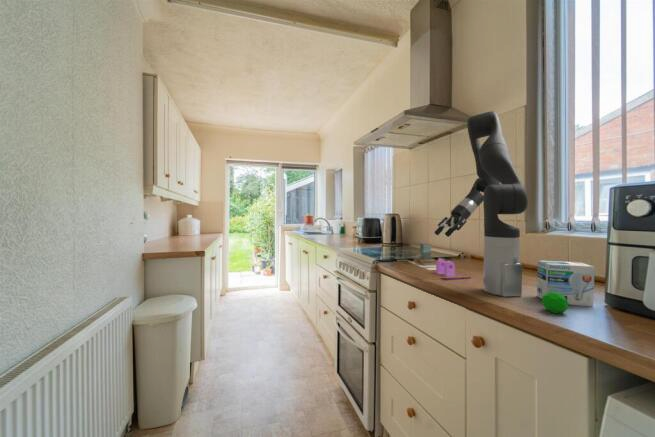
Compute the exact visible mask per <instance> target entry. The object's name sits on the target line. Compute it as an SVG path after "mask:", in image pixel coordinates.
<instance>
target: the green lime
mask: <svg viewBox="0 0 655 437" xmlns="http://www.w3.org/2000/svg"><path fill="white" fill-rule="evenodd" d="M541 303H542V305H543V307H544V308H545V310H546V311H549V312H551V313H552V312H553V314H562V313H565V312H566V311H567V310H568V308H569V304H568V302H567V300H566V298H565V297H564V296H563V295H561V294H560V293H556V292H549V293H546V294H545V295H544V296H543V298H542V299H541Z"/></svg>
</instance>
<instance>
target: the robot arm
mask: <svg viewBox="0 0 655 437" xmlns="http://www.w3.org/2000/svg"><path fill="white" fill-rule="evenodd" d="M466 126H467V133H468V138H469V143H470V146H471V150H472V152H473V153H472V154H473V157H474V161H475V169H476V175H477V177H478V178H476V179H475V181H474V183H473V184H472V187H471V189H470V190H469V193H467V194H466V196H465V197H464V198H463V199H461V201H459V203H457V204H456V206H454V208H453V209H452V210H451V211H450V216H449V217H448V216H445V217H443V219H441V221H440V222H438V224H437V226H438V228H436V229H435V231H434V234H435V236H439V235H440V234H441V233H442V232H443V230H446V229H447V230H446V232H444V235H445V236H446V238H447V237H448V238H449V237H450V236H451V235H452V234H454V232H456V231H460V230H461V229H462V228H463V227H464V225H465V224H466V223H467V222H468V221H467V220H468V219H469V218H470V217H471V216H472V214H474V213H475V211H476V210H477V209H478V207H480V205H481V204H482V203H483V222H484V223H483V227H484V228H483V230H484V232H483V234H484V235H483V237H484V238H483V278H482V279H483V282H482V283H483V291H484V293H488V294H492V295H495V296H496V295H497V296H501V297H506V298H507V297H520V296H522V294H523V293H522V292H523V291H522V290H523V289H522V288H523V263H520V246H521V245H520V242H521V240H520V238H521V237H520V236H521V229H520V228H519V227H518V226H514V225H511V224H507V222H503V221H502V220H500V218H499V215H519V214H520V215H521V214H523V213H524V212H525V211H526V210H527V208H528V202H529V201H528V193H527V190H526V188H525V186H524V184H523V182H522V180H521V178H520V177H519V175H518V174H519V173H517V171H516V168H515V166H514V162H513V159H512V155H511V153H510V150H509V147H508V144H507V143H506V140H505V137H504V135H503V130H502V126H501V121H500V118H499V115H498V113H497V112H495V111H493V110H491V111H486V112H483V113H480V114H476V115H472V116H470V117H468V119H467V125H466ZM485 137H487V138H486V140H485V141H484V142H483V143H482V144H481V143H480V140H479V139H481V138H485Z"/></svg>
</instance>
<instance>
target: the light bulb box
mask: <svg viewBox="0 0 655 437" xmlns="http://www.w3.org/2000/svg"><path fill="white" fill-rule="evenodd" d="M595 269H596V268H595V266H593V265H590V264H587V263H584V262H580V261H578V262H577V261H560V260H559V261H557V260H556V261H555V260H539V259H538V260H537V278H536V279H537V280H536V282H537V283H536V287H537V288H536V296H537V297H538V298H540V299H541V300H542V298H543V296H544V295H545V294H546V293H549V292H556V293H560V294H561V295H563V296H564V297H565V298H566V300H567V302H568V306H570V305H571V306H581V307H590V306H593V307H594V294H595V293H594V292H595V271H596V270H595Z"/></svg>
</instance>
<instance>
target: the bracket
mask: <svg viewBox="0 0 655 437" xmlns="http://www.w3.org/2000/svg"><path fill="white" fill-rule="evenodd" d="M436 261H437V262H436V270H435V274H437V275H442V274H443V276H444V277H442V278H441V277H440V278H439V279H440V280H444V281H456V280H467V279H468V280H469V279H471V278H472V276H470V277H469V276H468V277H455V276H456V264H455V263H454V262H453V261H451V260H447V261H446V260H445V259H442V258H441V259H440V258H439V259H438V260H436Z"/></svg>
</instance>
